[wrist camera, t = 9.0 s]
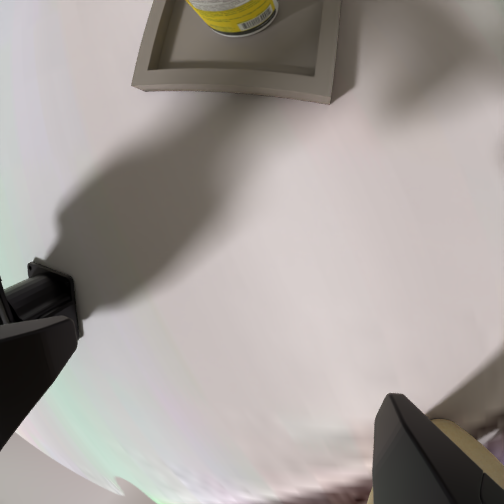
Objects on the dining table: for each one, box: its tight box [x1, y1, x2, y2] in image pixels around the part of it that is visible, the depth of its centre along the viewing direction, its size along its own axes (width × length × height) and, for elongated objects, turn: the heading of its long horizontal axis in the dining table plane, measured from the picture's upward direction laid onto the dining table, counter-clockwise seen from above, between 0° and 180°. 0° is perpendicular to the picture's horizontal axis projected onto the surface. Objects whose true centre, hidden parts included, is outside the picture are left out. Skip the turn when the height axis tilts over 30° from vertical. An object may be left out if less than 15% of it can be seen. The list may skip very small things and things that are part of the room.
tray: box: [131, 0, 341, 105], centre depth 14 cm, size 12×12×2 cm
